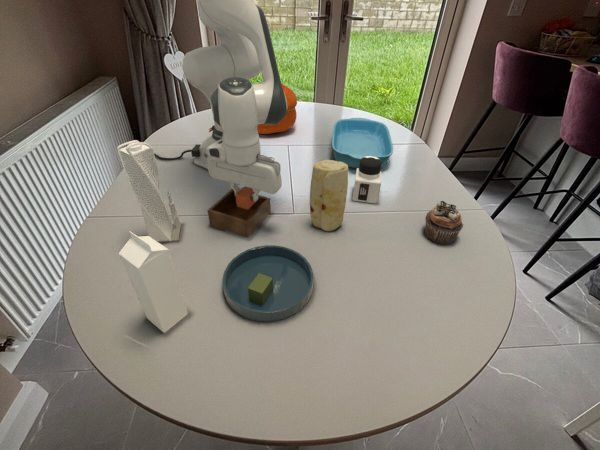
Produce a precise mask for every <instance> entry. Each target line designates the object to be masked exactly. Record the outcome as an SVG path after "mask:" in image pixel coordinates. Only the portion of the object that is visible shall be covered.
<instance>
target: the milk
mask: <svg viewBox="0 0 600 450" xmlns="http://www.w3.org/2000/svg"><path fill="white" fill-rule="evenodd" d="M128 233H129V236H130V238H129V239H128V240H127V242H126V243H125V245H124V246H123V247H122V248H121V250H120V251H119V252H118V255H119V257H120V260H121V262H122V265H123V267H124V269H125V272H126V274H127V276H128V279H129V281H130V283H131V286H132V287H133V290H134V292H135V294H136V297H137V299H138V301H139V304H140V306H141V308H142V310H143V312H144V315H145V317H146V319H147V320H148V321H149V322H151V323H152V325H154V326H155V327H157V328H158V329H159V330H160V331H161V332H162V333H163V334H165V333H166V332H167V331H169V330H170V329H171V328H172V327H174V326H175V325H176V324H178V323H180V321H181V320H182V319H184V318H185V317H186V316H187V315H188V314H189V311H188V308H187V305H186V301H185V298H184V295H183V292H182V288H181V285H180V282H179V278H178V275H177V272H176V269H175V266H174V262H173V259H172V256H171V252H170V249H168V247H166V246H164V245H163V244H162V243H158V242H157V241H155V240H154V239H152V238H151V237H149V236H148V235H144V236H143V235H142V236H138V235H136V234H135V233H133V232H132V231H131V230H129V231H128Z"/></svg>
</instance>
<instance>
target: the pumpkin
mask: <svg viewBox="0 0 600 450" xmlns="http://www.w3.org/2000/svg"><path fill="white" fill-rule="evenodd" d="M282 87H283V90H284V93H285V96H286V100H287V114H286V115H285V117H284V118H283V119H282V120H281V121H280V122H279V123H278V124H276V125H265V124H258V126H257V132H258V134H260V135H271V134H275V133H282V132H286V131H288V130H290V129H291V128H292V127H293V126H294V125H295V124H296V121H297V116H298V115H297V108H296V107H297V105H298V98H297V96H296V94H295V92H294V91H293V89H291V88H290V87H288V86H287V85H285V84H283V83H282Z"/></svg>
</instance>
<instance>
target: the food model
mask: <svg viewBox="0 0 600 450" xmlns="http://www.w3.org/2000/svg"><path fill="white" fill-rule="evenodd" d="M310 179H311V180H310V186H309V187H310V189H309V213H310V219H311V222H312V225H313V227H315V228H318V229H322V230H323V231H324V232H333V231H335V230H336V229H338V228H339V227H340V226H341V225H342V224H343V222H344V216H345V215H344V214H345V210H346V205H347V204H346V203H347V197H348V196H347V195H348V187H349V167H348V165H347V164H345V163H343V162H338V161H337V160H333V159H332V160H331V159H325V160H324V159H323V160H320V161H318V162H316V163H314V164H313V166H312V172H311V178H310Z"/></svg>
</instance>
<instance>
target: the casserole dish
mask: <svg viewBox="0 0 600 450" xmlns="http://www.w3.org/2000/svg"><path fill="white" fill-rule="evenodd" d="M332 127H333V128H332V137H331V147H332V151H333V155H334V158H335V161H338V162H343V163H345V164H347V165H348V168H350V169H351V168H352V169H357V168H359V164H360V160H361V159H362V158H363V157H366V156H373V157H376V158H379V159H380V160H381V162H382V166H381V168H382V167H384V166H385V165H386V164H387V163H388V161H389V159H390V157H391V156H392V155H393V153H394V146H393V140H392V137H391V133H390V129H389V126H387V125H386V124H385V123H384V122H381V121H379V120H373V119H369V118H366V117H352V118H342V119H338V120H337V121H335V122H334V124H333V126H332Z"/></svg>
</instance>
